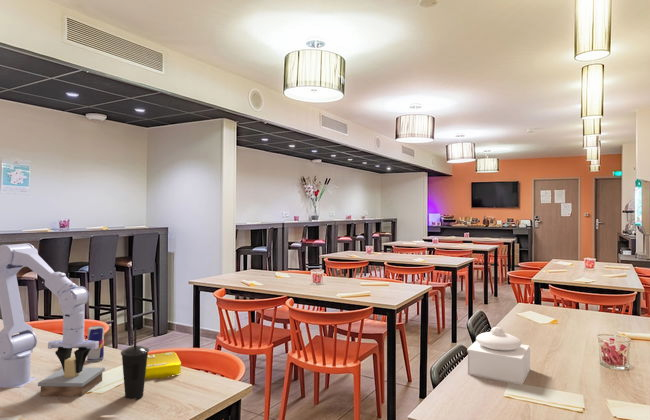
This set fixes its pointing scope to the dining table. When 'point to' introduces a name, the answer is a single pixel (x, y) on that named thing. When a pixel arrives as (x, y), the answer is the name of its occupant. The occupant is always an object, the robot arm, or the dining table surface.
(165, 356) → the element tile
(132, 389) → the drinking cup
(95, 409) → the dining table surface
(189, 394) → the dining table surface
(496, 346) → the white lidded container
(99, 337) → the energy drink
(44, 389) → the box
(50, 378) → the lid
